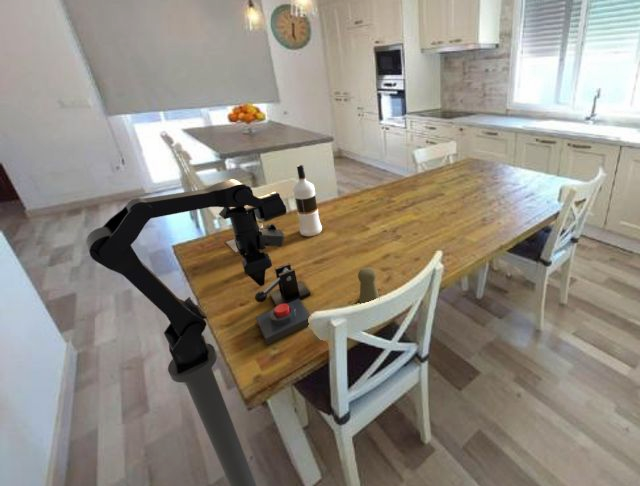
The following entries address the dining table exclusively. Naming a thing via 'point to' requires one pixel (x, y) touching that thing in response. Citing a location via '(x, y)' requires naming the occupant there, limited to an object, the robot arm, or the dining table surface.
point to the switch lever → (268, 289)
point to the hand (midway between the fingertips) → (258, 277)
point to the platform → (232, 242)
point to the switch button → (282, 310)
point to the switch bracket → (288, 287)
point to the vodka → (306, 205)
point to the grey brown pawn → (367, 285)
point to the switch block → (283, 322)
